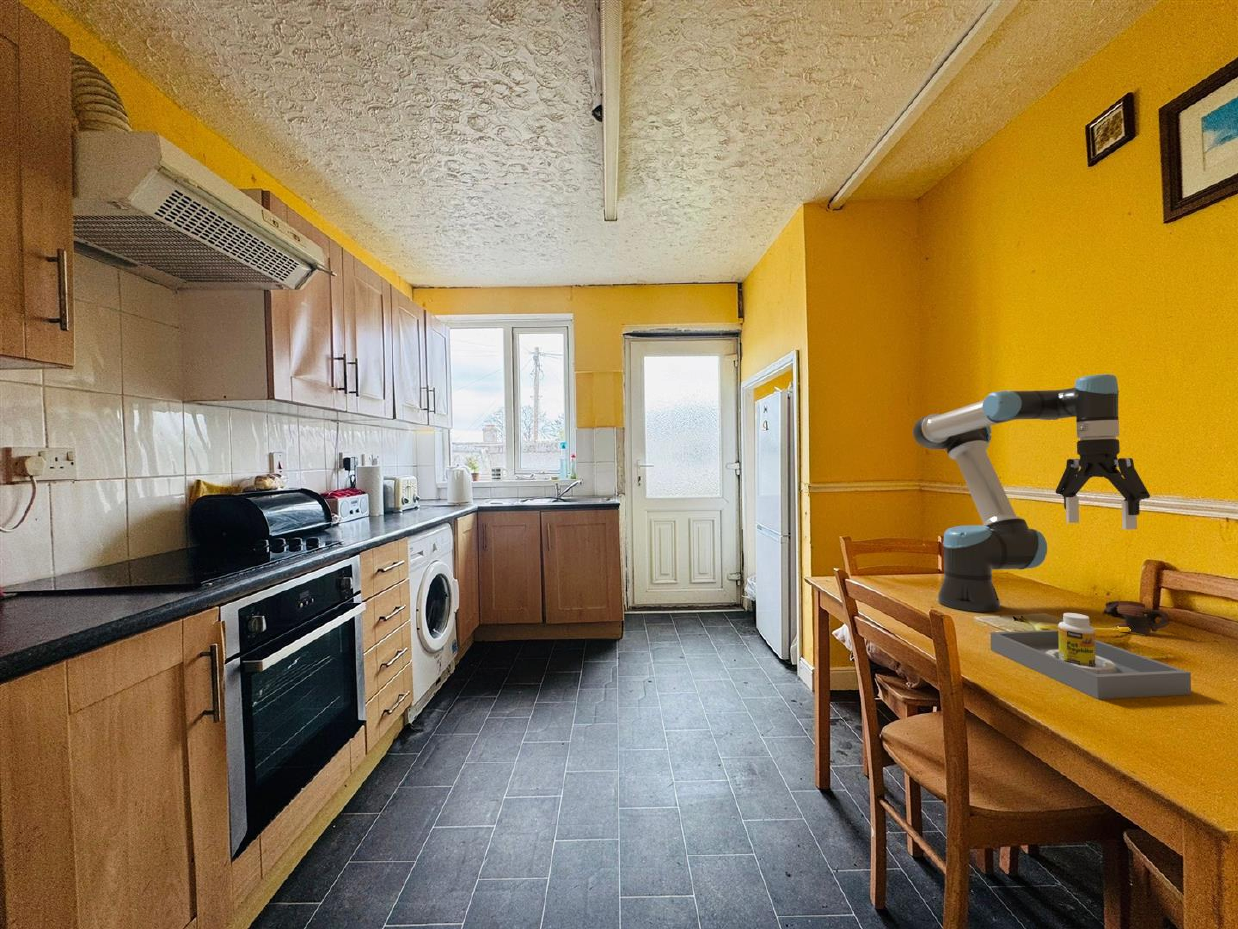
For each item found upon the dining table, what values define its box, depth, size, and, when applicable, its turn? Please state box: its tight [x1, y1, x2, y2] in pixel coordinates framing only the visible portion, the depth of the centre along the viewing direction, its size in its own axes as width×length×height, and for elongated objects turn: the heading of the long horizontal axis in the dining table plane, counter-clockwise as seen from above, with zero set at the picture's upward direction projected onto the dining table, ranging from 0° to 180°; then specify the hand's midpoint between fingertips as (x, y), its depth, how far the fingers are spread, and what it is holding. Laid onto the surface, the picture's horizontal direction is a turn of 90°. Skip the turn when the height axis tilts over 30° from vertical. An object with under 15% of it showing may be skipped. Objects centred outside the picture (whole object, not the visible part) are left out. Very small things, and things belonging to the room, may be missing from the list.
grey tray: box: [989, 629, 1192, 700], centre depth 102 cm, size 24×18×4 cm
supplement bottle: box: [1057, 612, 1096, 667], centre depth 102 cm, size 6×6×10 cm
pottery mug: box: [1102, 600, 1171, 636], centre depth 124 cm, size 12×10×8 cm
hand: (1099, 525), depth 121 cm, fingers open, 13 cm apart
